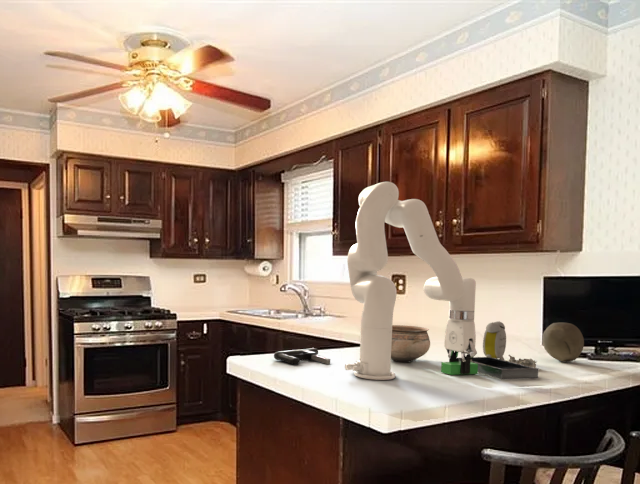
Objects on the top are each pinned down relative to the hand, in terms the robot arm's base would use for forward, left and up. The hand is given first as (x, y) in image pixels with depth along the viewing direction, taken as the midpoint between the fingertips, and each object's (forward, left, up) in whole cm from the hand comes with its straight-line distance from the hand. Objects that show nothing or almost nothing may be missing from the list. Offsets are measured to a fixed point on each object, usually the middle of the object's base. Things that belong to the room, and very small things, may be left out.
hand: (459, 371), depth 174 cm
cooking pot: (-4, +27, -1) cm, 27 cm away
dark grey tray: (+15, +1, -1) cm, 15 cm away
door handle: (-41, +30, -1) cm, 51 cm away
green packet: (0, 0, -1) cm, 1 cm away
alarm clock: (+31, +20, -1) cm, 37 cm away
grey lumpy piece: (+31, +7, -1) cm, 32 cm away
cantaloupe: (+59, +18, -1) cm, 62 cm away
